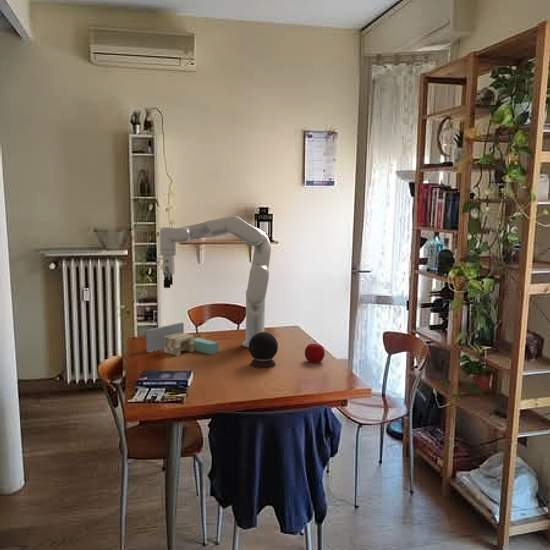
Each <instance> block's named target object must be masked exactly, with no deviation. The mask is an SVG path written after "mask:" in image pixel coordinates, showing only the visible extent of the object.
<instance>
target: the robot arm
mask: <svg viewBox="0 0 550 550" xmlns="http://www.w3.org/2000/svg"><path fill="white" fill-rule="evenodd" d="M226 235H233V236H235V237H236V238H238V239H239V240H241V241H243V242H244V243H246V244H248V245H250V246H253V256H252V261H251V262H252V263H251V267H250V270H249V275H248V282H247V288H246V291H245V340H244V341H242V346H243V347H244V348H248V349H249V342H250V340H251V338H252V337H253V336H254V335H255V334H257V333H259V332H265V320H266V319H265V317H266V316H265V315H266V314H265V313H266V310H265V309H266V307H265V306H266V296H267V291H268V290H267V289H268V285H269V281H270V280H269V278H270V272H269V271H270V270H269V268H270V263H271V262H270V261H271V254H272V252H271V251H272V247H271V242H270V238H269V237H268V235H267V234H266V233H265V232H264V231H263V230H262V229H260V228H258V227H256V226H255V227H254V226H253V225H252V224H250V223H248V222H246V221H245V220H243V219H242V218H241V217H240V216H238V215H231V216H226V217H225V216H224V217H220V218H215V219H211V220H207V221H204V222H200V223H195V224H192V225H191V224H190V225H185V226H181V227H177V228H175V227H173V226H172V227H171V226H166V227H165V226H163V227H161V228H160V231H159V237H160V238H159V241H160V243H159V244H160V245H159V246H160V247H159V248H160V251H159V252H160V253H159V254H160V256H162V274H163V288H164V289H170V288H171V286H172V285H173V283H174V279H173V275H174V274H175V256H176V254H177V251H176V250H177V249H176V248H177V245H176V244H177V243H181V244H182V243H183V244H185V243H187V242H188V241H193V240H199V239H204V238H209V239H210V238H217V237H222V236H226Z"/></svg>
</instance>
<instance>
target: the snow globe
mask: <svg viewBox="0 0 550 550" xmlns="http://www.w3.org/2000/svg"><path fill="white" fill-rule="evenodd" d="M278 350H279V344H278V341H277V339H276V337H275V336H274V335H273V334H271V333H270V332H268V331H267V332H266V331H264V332H259V333H257V334H255V335H254V336H253V337H252V338H251V340H250V342H249V348H248V351H249V354H250V355H251V356H252V358H253V359H252V360H251V361H250V366H251V367H252V366H253V368H255V367H258V368H257V369H261V368H266V369H270V368H269V367H272V368H274V367H276V361H275V360H274V359H273V358H275V356H276V355H277V352H278ZM273 366H274V367H273Z"/></svg>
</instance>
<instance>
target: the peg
mask: <svg viewBox="0 0 550 550" xmlns="http://www.w3.org/2000/svg"><path fill="white" fill-rule="evenodd" d="M194 351H196V352H200V351H201V352H200V353H204V354H208V355H214V354H217V353H219V342H217V341H213V340H208V339H205V338H200V337H194Z"/></svg>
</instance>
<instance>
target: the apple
mask: <svg viewBox="0 0 550 550" xmlns="http://www.w3.org/2000/svg"><path fill="white" fill-rule="evenodd" d="M313 341H314V343H310V344H307V345H306V347H305V348H304V349H305V350H304V357H305V358H306V359H305V360H307V362H308V363H311V362H312V363H311V364H319V363H321V362H322V361H323V360H324V358H325V354H326V353H325V349H324V346H322V345H321V344H318V343H316V340H313Z"/></svg>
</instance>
